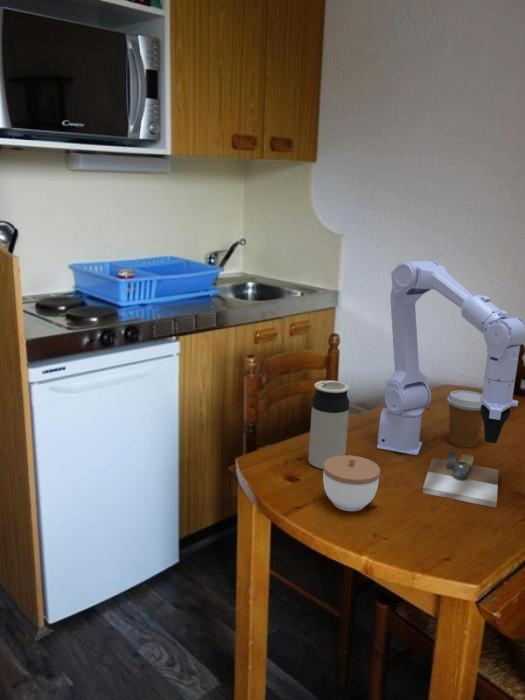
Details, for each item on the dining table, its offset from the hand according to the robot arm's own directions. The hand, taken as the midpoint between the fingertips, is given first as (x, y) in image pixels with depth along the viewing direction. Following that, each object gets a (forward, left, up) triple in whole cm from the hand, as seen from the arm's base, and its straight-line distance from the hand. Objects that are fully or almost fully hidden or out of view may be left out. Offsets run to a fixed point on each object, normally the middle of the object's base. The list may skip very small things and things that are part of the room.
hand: (490, 441), depth 126 cm
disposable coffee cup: (-6, +23, -10) cm, 26 cm away
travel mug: (-33, -4, -10) cm, 35 cm away
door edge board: (-5, -1, -10) cm, 11 cm away
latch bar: (-5, +2, -8) cm, 10 cm away
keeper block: (-7, +4, -9) cm, 12 cm away
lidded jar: (-24, -20, -10) cm, 33 cm away
